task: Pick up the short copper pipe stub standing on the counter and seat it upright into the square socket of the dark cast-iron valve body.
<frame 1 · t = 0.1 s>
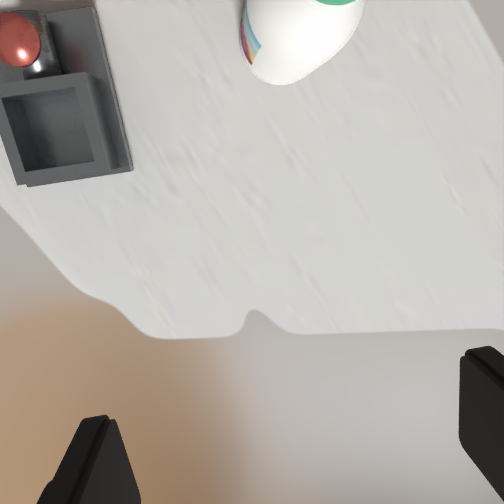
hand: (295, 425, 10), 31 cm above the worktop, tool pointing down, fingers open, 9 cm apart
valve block: (62, 103, 36), on the worktop
milk bottle: (279, 41, 36), on the worktop
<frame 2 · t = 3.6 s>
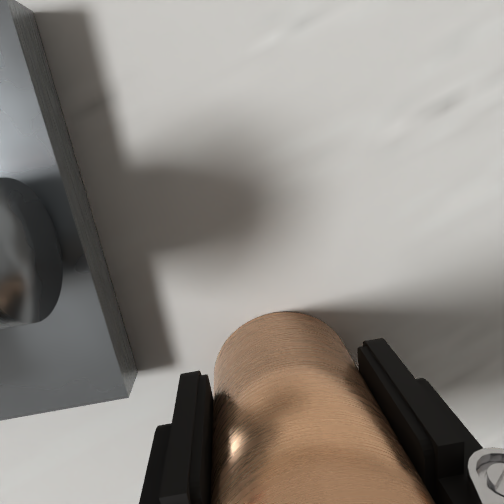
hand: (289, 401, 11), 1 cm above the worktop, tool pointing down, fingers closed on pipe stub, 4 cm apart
pipe stub: (282, 373, 12), on the worktop, touching gripper
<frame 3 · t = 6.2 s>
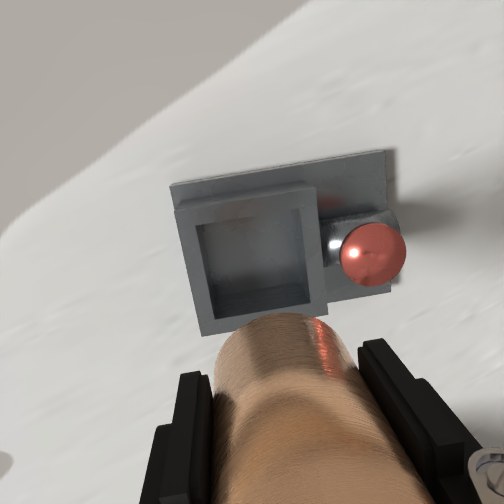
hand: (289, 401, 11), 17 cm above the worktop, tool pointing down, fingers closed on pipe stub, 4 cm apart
pipe stub: (282, 373, 12), point 15 cm above the worktop, touching gripper
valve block: (284, 238, 27), on the worktop
when the fingers open (5 cm above the worktop, at t = 8.9 s): pipe stub drops 3 cm, resting on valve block.
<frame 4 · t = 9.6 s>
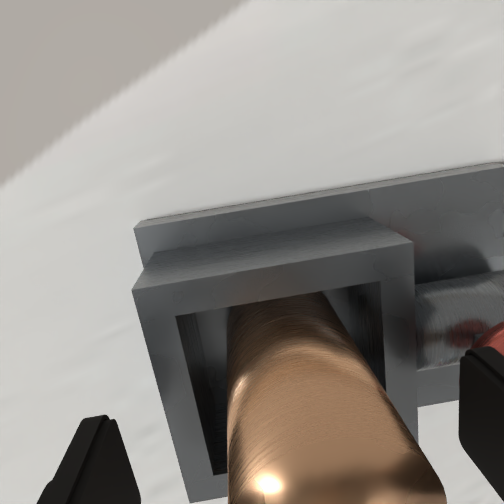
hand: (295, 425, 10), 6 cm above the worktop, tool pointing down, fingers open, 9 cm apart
pipe stub: (281, 329, 15), point 1 cm above the worktop, touching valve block
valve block: (329, 306, 16), on the worktop
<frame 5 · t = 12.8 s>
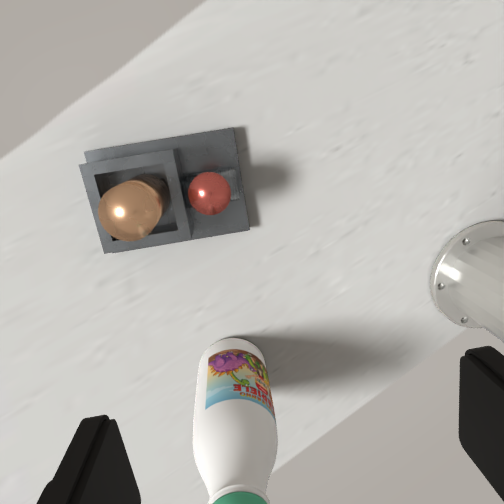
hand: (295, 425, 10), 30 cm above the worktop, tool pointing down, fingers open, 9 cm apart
pipe stub: (147, 197, 37), point 1 cm above the worktop, touching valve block
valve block: (172, 191, 38), on the worktop
milk bottle: (232, 363, 45), on the worktop
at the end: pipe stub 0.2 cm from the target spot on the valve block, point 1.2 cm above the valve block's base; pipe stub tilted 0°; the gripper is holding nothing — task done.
